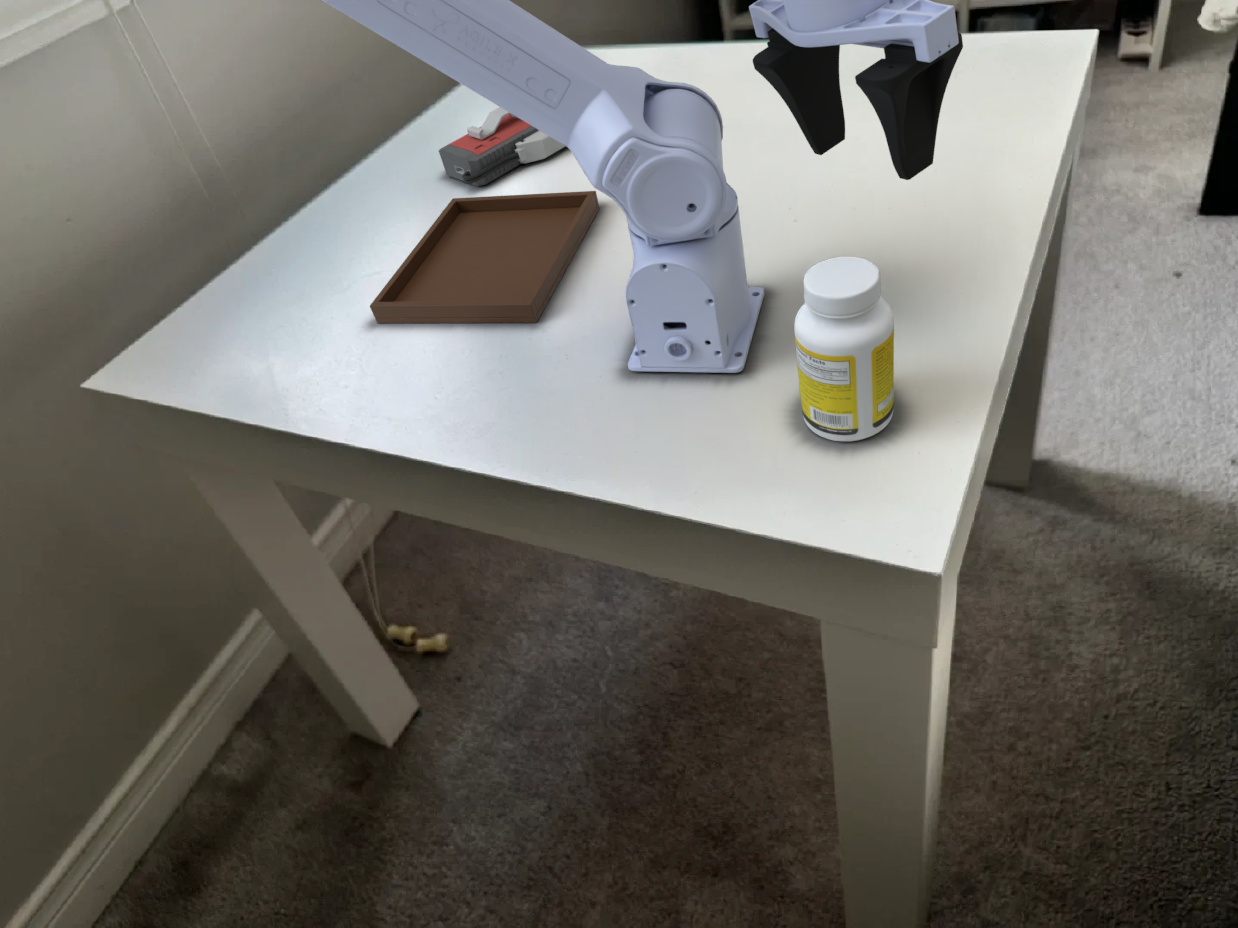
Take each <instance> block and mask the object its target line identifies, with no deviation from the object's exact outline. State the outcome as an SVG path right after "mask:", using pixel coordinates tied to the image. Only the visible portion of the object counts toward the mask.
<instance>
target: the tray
mask: <svg viewBox="0 0 1238 928" xmlns="http://www.w3.org/2000/svg"><path fill="white" fill-rule="evenodd" d="M599 210H600V204H599V199H598V195H597V191H596V190H587V191H586V190H585V191H568V192H566V191H565V192H547V193H528V194H510V195H493V196H471V197H454V198H452V199H451V200H450V202H448V203H447V205H446V206H445V207H444V209H443V210H442V211H441V212H440V214H439V216H437V218H436V219H435V220H434V222H433V223H432V224H431V226H430V227H429V228H428V230H427V231H426V232H425V233H424V235H423V236H422V238H421V239H420V240H419V242H417V244H416V245H415V246H414V248H413V249H412V250H411V252H410V253H409V254H408V255H407V257H405V259H404V260H403V262H402V263H401V264H400V266H399V268H397V270H396V271H395V273H394V274H393V275H392V276H391V278H390V279H389V280H388V282H387V283H386V284H385V285H384V286H383V287H382V289H381V290H380V292H379V293H378V294H377V295H376V297H375V298H374V300H373V301H372V302H371V303H370V305H369V308H370V311H371V312H372V314H373V317H374V319H375V321H376V323H377V324H529V323H530V324H536V323H538V321H539V319H540V318H541V316H542V314H543V312H544V310H545V308H546V306H547V305H548V303H549V301H550V299H551V298H552V296H553V294H554V293H555V290H556V288H557V286H558V285H559V283H560V281H561V279H562V277H564V276H563V275H564V274H565V272H566V270H567V268H568V266H569V265H570V263H571V261H572V259H573V257H574V256H575V254H576V253H577V250H578V248H579V247H580V245H581V243H582V241H583V239H584V237H585V235H586V234H587V232H588V230H589V229H590V226H591V225H592V223H593V222H594V219H595V218H596V215H597V214H598V212H599Z"/></svg>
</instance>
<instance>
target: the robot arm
mask: <svg viewBox="0 0 1238 928" xmlns="http://www.w3.org/2000/svg"><path fill="white" fill-rule="evenodd" d="M321 1H322V2H323V3H325V4H326V5H328V6H330V7H332V8H334V9H335V10H336V11H338V12H340V13H342V14H343V15H345V16H347V17H349V18H350V19H352V20H353V21H355V22H357V23H358V24H360V25H361V26H364V27H365V28H367V29H369V30H370V31H372V32H374V33H375V34H377V35H379V36H380V37H382V38H384V39H386V40H387V41H388V42H390V43H392V44H394V45H395V46H397V47H399V48H400V49H402V50H404V51H406V52H407V53H409V54H411V55H412V56H414V57H416V58H417V59H419V60H420V61H422V62H423V63H425V64H427V65H429V66H431V67H432V68H434V69H435V70H437V71H439V72H440V73H442V74H444V75H445V76H447V77H449V78H451V79H452V80H454V81H456V82H457V83H459V84H461V85H462V86H464V87H466V88H467V89H469V90H471V91H473V92H474V93H476V94H478V95H479V96H481V97H483V98H484V99H486V100H487V101H489V102H491V103H492V104H494V105H496V106H497V107H498V108H499V107H501V108H503V109H504V110H506V111H508V112H509V113H511V114H513V115H515V116H516V117H518V118H520V119H521V120H523V121H525V122H526V123H528V124H530V125H531V126H533V127H535V128H536V129H538V130H540V131H541V132H543V133H545V134H546V135H548V136H550V137H551V138H553V139H555V140H556V141H558V142H560V143H561V144H563V145H565V148H568V150H569V151H570V153H572V155H573V157H574V159H575V160H576V161H577V164H578V165H579V166H580V168H581V170H582V172H583V173H584V175H585V176H586V178H587V180H588V181H589V183H590V184H591V186H592V187H593V188H594V189H595V190H598V191H599V192H601V193H602V194H604V195H606V196H607V197H609V198H610V199H611V200H612V201H614V202H615V203H616V204H617V205H618V206H619V208H620V209H621V210H622V212H623V213H624V215H625V218H626V223H627V229H628V233H629V238H630V242H631V247H632V248H631V249H632V252H633V258H632V268H631V270H630V274H629V277H628V280H627V283H626V287H625V301H626V307H627V310H628V315H629V319H630V324H631V328H632V332H633V333H632V334H633V338H634V341H635V345H634V347H633V350H632V353H631V355H630V356H629V359H628V362H627V367H628V368H627V369H628V370H629V371H631V372H653V373H654V372H656V373H658V372H661V373H715V374H716V373H720V374H721V373H722V374H723V373H724V374H738V373H740V372H741V373H742V371H743V370H744V368H745V365H746V361H747V358H748V354H749V350H750V347H751V343H752V340H753V336H754V331H755V330H756V325H757V322H758V319H759V315H760V311H761V308H762V303H763V301H764V297H765V289H764V287H761V286H749V285H748V277H747V269H746V259H745V252H744V244H743V235H742V225H741V217H740V209H739V207H740V206H739V199H738V194H737V192H736V190H735V189H734V188H733V187H732V186H731V185H730V184H729V183H728V182H727V176H726V174H725V171H724V160H723V158H724V157H723V138H724V125H723V117H722V114H721V111H720V109H719V108H718V107H719V106H718V105H717V104H716V102H715V100H713V98H712V97H710V95H709V94H708V93H707V92H705V91H704V90H702V89H701V88H699V87H697V86H696V85H692V84H690V83H686V82H677V81H668V80H667V81H666V80H662V79H659V78H657V77H655V76H653V75H652V74H650V73H648V72H647V71H645V70H643V69H642V68H640V67H636V66H631V65H630V66H628V65H617V64H610V63H607V62H606V61H604V60H603V59H601V58H600V57H598V55H595V54H594V53H593V52H591V51H589V50H587V49H586V48H584V47H583V46H581V45H580V44H578V43H576V42H575V41H574V40H571V39H570V38H569V37H567V36H565V35H564V34H562V33H561V32H560V31H558V30H556V29H555V28H554V27H552V26H550V25H548V24H547V23H545V22H544V21H542V20H541V19H539V18H537V17H536V16H535V15H533V14H531V13H530V12H528V11H527V10H525V9H524V8H522V7H520V6H519V5H517V4H516V3H514V2H513V1H511V0H321ZM748 10H749V13H750V17H751V22H752V26H753V28H754V33H755V36H756V38H760V39H761V38H762V39H768V41H767V42H766V44H767V47H765V48H764V49H762V50H761V51H759V52H758V53H756V54H755V55H754V56H753V58H752V64H753V68H754V70H755V71H756V72H758V73H759V75H761V77H763V78H764V79H765V80H766V81H767V82H768V83H769V84H770V85H771V86H772V88H773V89H774V90H775V91H776V93H777V94H778V95H779V97H780V98H781V99H782V100H783V102H784V103H785V105H786V106H787V108H788V109H789V111H790V112H791V114H792V116H793V118H794V119H795V122H796V123H797V124H798V126H799V128H800V130H801V132H802V134H803V136H804V137H805V139H806V141H807V143H808V145H809V146H810V148H811V150H812V151H813V153H814V154H815V155H818V156H822V155H824V154H825V153H827V152H828V151H830V150H831V149H833V148H834V147H836V146H837V145H839V144H840V143H841V142H843V141H845V140H846V119H845V112H844V105H843V98H842V92H841V83H840V50H841V46H843V45H845V46H846V45H858V46H862V47H863V46H864V47H871V48H878V49H883V52H884V58H880V59H879V60H877V61H875V62H874V63H873V64H872V65H870V66H868V67H867V68H865V69H864V70H862V71H861V72H859V73H858V74H856V75H855V76H854V79H855V84H856V85H857V87H859V88H860V90H861V91H862V92H863V94H864V95H865V96H866V97H867V99H868V101H869V102H870V105H871V106H872V108H873V109H874V112H875V114H876V115H877V118H878V121H879V122H880V124H881V125H880V126H881V127H882V130H883V134H884V137H885V139H886V143H887V148H888V151H889V156H890V159H891V162H892V165H893V168H894V170H895V172H896V174H897V176H898V178H899V179H901V180H904V181H910V180H911V179H913V178H914V177H916V176H917V175H918V174H920V173H922V172H924V170H926V169H927V168H929V167H930V166H931V165H933V164H934V157H935V148H936V139H937V132H938V125H939V120H940V114H941V109H942V104H943V100H944V97H945V93H946V90H947V87H948V83H949V81H950V79H951V76H952V73H953V71H954V68H955V65H956V64H957V61H958V59H959V57H960V54H961V52H962V51H963V49H964V44H963V43H964V42H963V35H962V33H961V32H959V31H958V24H957V18H956V17H957V16H956V10H955V6H954V5H952V4H944V3H939V2H935V1H932V0H756V1H755V2H752V4H750V5H749V6H748Z"/></svg>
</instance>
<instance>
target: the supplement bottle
mask: <svg viewBox="0 0 1238 928" xmlns="http://www.w3.org/2000/svg"><path fill="white" fill-rule="evenodd" d="M881 292H882V289H881V274H880V270H879V268H878V267H877V265H875V263H874V262H872V261H870V260H868V259H866V258H862V257H859V256H837V257H832V258H828V259H825V260H822V261H820V262H817V263H816V264H814V265H813V266H811V267H810V268H809V269H808V270H807V271H806V272H805V274H804V276H803V299H804V303H803V304H802V306H800V308H799V310H798V311H797V313H796V315H795V319H794V324H793V325H794V341H795V352H796V362H797V372H798V386H799V395H800V404H801V405H800V406H801V413H802V417H803V421H804V423H805V425H806V426H807V427H808V428H809V430H811V431H812V432H813V433H814V434H816V435H818V436H819V437H822V438H824V439H827V440H829V441H830V440H831V441H835V442H855V441H861V440H865V439H868V438H870V437H873V436H875V435H876V434H878V433H880V432H881V431H882V430H884V429H885V428H886V427H887V426H888V425H889V423H890V422H891V420H892V418H893V415H894V410H895V368H894V367H895V340H894V339H895V322H894V313H893V311H892V308H891V307H890V305H889V304H888V302H887V301H886V300H884V298H882V297H881Z"/></svg>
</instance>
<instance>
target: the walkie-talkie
mask: <svg viewBox="0 0 1238 928" xmlns="http://www.w3.org/2000/svg"><path fill="white" fill-rule="evenodd" d="M466 132H467V133H466V134H465V135H463V136H461V137H459V138H457V139H456V140H453V141H452V142H449V143H448V144H446V145H445V146H443V147H441V148H439V150H438V153H439V156H440V159H441V162H442V165H443V168H444V170H445V173H446V175H447V176H448V177H450V178H451V177H452V178H454V179H457V180H460V181H462V182H463V183H465V185H473V186H475V187H480V186H481V187H482V186H486V185H488V184H490V183H491V182H494V180H496V179H498V178H500V177H502V176H503V175H505V174H507V173H509V172H510V171H511V170H513V169H515V168H517V167H519V166H520V165H522V164H529V163H533V162H537V161H541V160H544V159H547V158H548V157H550V156H552V155H554V154H555V153H557V152H559V151H560V150H562V149H564V148H566V146H565V145H563V144H561V143H560V142H558V141H556V140H555V139H553V138H551V137H550V136H548V135H546V134H545V133H543V132H541V131H540V130H538V129H536V128H535V127H533V126H531V125H530V124H528V123H526V122H525V121H523V120H521V119H520V118H518V117H516V116H515V115H513V114H511V113H509V112H508V111H506V110H504V109H503V108H501V107H499V106H498V107H497V108H495V109H493V110H492V111H490V112H488V114H487V116H486V118H485V120H484V121H483V123H482V125H481V126H480V127H477V126H474V125H472V126H469V127H467V128H466Z"/></svg>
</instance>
